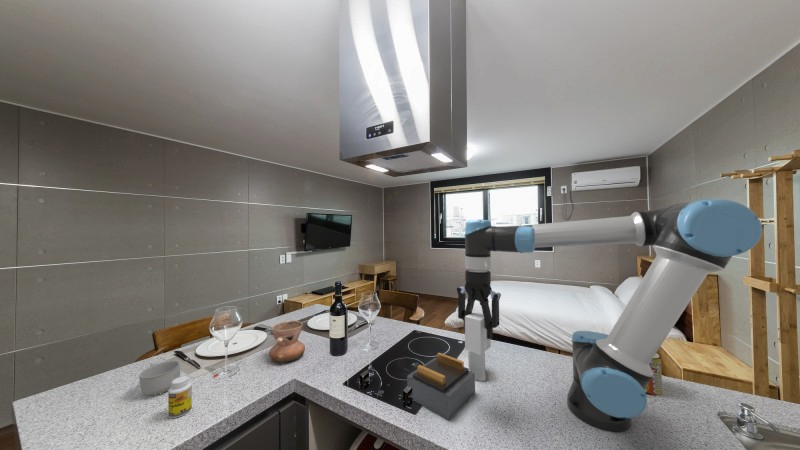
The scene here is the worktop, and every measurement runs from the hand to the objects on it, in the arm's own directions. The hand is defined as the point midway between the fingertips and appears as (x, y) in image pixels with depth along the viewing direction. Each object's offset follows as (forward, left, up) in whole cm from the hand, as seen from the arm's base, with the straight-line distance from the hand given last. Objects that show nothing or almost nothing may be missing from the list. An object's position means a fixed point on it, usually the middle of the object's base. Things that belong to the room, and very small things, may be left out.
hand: (477, 345), depth 80 cm
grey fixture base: (+12, +2, -19) cm, 23 cm away
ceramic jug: (+78, +24, -20) cm, 84 cm away
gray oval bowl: (+90, +65, -20) cm, 113 cm away
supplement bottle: (+68, +62, -20) cm, 94 cm away
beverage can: (-37, -47, -20) cm, 62 cm away
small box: (+9, -17, -20) cm, 27 cm away
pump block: (0, 0, -1) cm, 1 cm away
